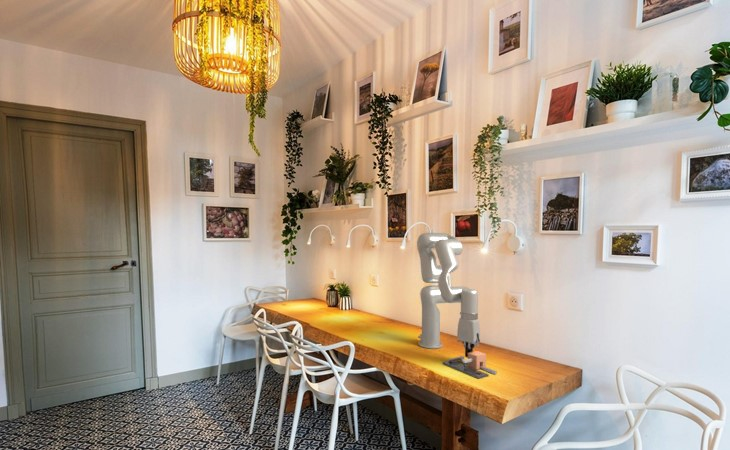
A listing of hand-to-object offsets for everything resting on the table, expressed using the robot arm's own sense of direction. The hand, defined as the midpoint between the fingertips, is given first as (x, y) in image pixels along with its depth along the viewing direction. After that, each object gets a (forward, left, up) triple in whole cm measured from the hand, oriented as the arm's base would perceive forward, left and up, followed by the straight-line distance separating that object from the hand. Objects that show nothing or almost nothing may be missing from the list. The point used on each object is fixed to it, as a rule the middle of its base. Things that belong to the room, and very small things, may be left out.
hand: (468, 356), depth 173 cm
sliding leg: (+5, -3, -3) cm, 6 cm away
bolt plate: (+4, -7, -3) cm, 9 cm away
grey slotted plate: (+4, -4, -3) cm, 7 cm away
